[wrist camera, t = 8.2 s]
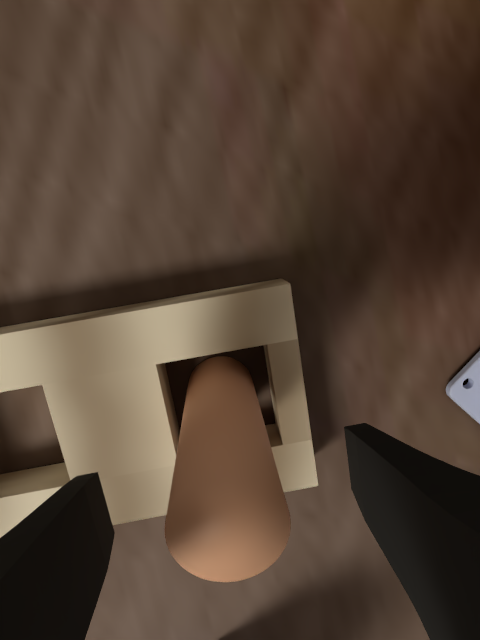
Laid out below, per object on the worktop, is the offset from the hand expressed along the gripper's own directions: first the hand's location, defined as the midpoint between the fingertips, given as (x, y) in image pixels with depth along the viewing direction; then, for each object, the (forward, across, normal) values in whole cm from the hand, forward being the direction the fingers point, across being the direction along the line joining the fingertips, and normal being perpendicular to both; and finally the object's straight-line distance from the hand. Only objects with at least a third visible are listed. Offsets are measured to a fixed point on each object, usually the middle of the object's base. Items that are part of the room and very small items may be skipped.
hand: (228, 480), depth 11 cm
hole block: (+7, +5, 0) cm, 8 cm away
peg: (+7, 0, 0) cm, 7 cm away
